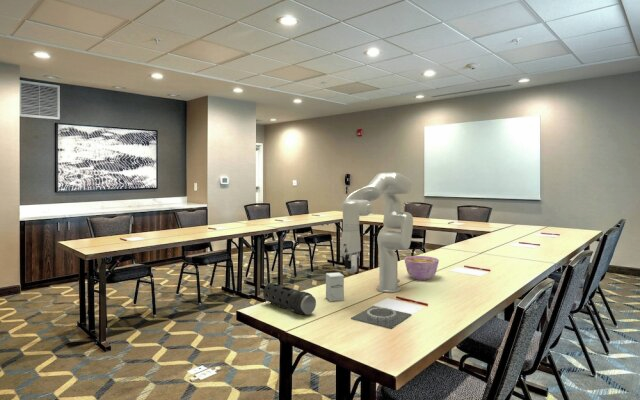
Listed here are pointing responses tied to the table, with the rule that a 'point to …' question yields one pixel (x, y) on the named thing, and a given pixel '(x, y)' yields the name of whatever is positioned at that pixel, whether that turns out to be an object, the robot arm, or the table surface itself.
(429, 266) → the bowl of food
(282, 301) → the muzzle brake
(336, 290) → the supplement box
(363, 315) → the ring mat
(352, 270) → the piston
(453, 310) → the table surface
